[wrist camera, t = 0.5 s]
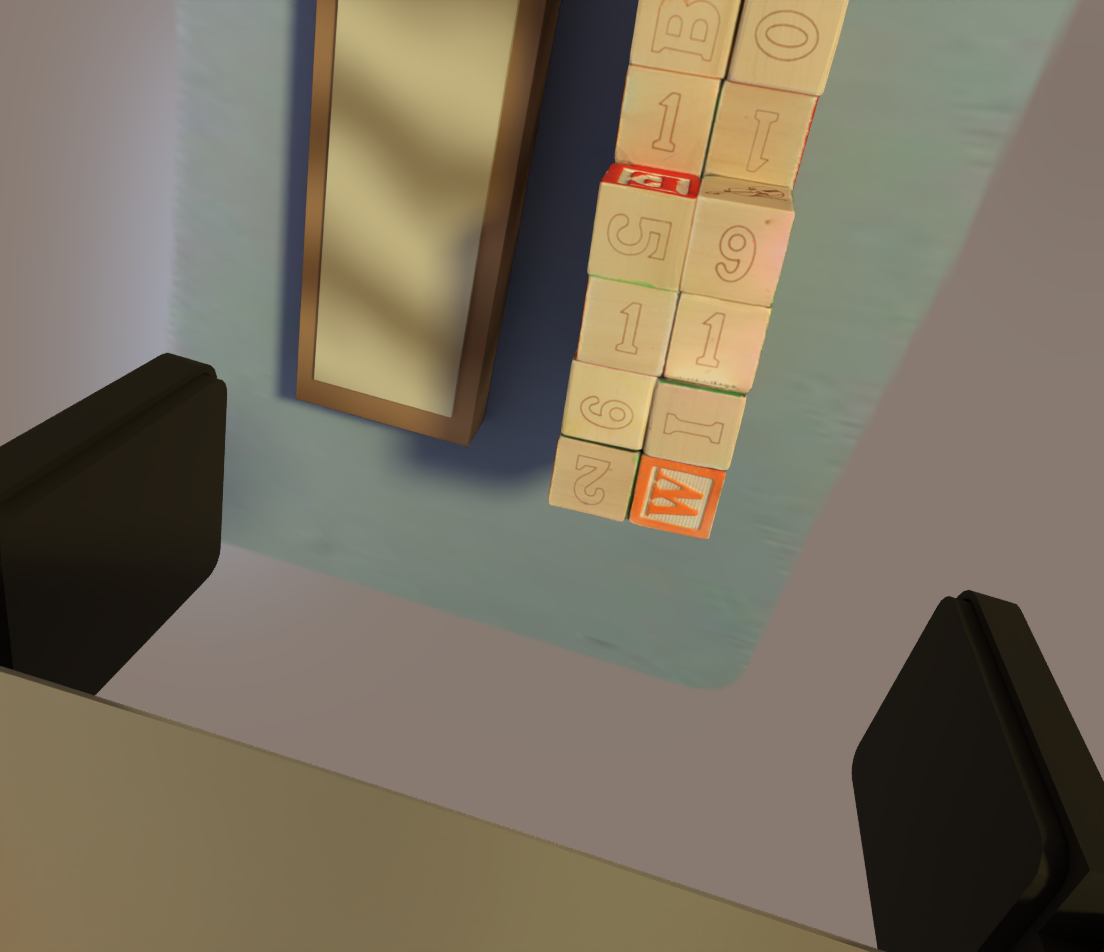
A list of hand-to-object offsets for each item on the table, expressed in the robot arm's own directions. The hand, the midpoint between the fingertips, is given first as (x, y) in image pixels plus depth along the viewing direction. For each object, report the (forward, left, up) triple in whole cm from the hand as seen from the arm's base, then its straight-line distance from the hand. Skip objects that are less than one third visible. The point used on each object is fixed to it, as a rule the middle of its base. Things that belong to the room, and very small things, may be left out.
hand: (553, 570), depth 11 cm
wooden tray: (+2, -11, -31) cm, 33 cm away
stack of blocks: (+1, +1, -31) cm, 31 cm away
